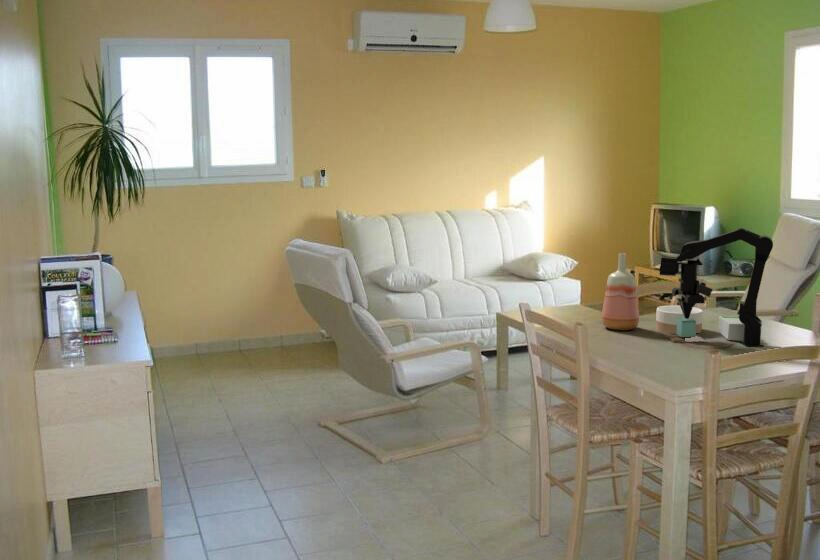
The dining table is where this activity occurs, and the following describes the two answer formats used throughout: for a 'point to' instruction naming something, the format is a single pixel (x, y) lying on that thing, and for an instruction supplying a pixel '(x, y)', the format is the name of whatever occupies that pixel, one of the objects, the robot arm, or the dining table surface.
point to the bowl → (675, 318)
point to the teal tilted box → (686, 327)
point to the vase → (620, 299)
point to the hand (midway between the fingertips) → (686, 318)
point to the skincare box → (731, 328)
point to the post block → (677, 338)
